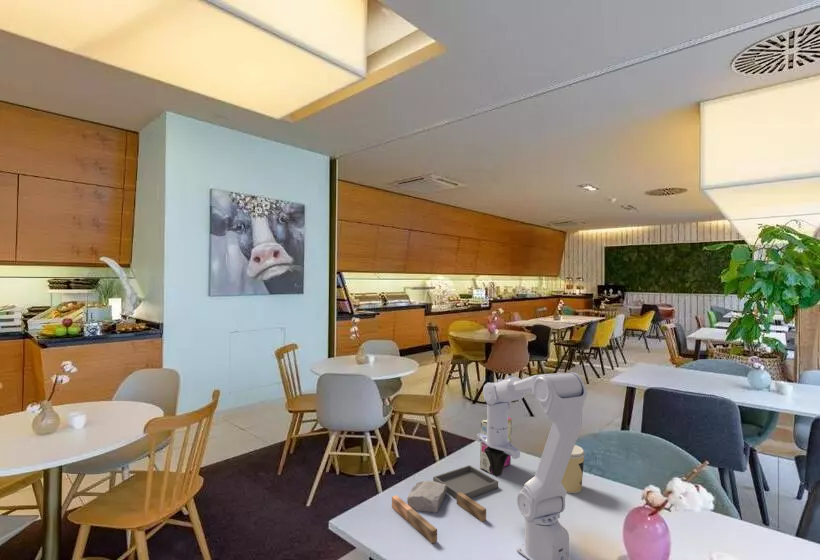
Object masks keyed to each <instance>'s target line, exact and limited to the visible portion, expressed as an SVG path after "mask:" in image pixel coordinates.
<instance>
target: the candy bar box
mask: <svg viewBox="0 0 820 560" xmlns="http://www.w3.org/2000/svg"><path fill="white" fill-rule="evenodd" d="M512 420H513V419H512V418H511V417H509V416H508V439H509V440H510V442H509V443H511V444H512V425H513V424H512ZM480 433H483V434H486V435H487V418H486V419H483V420H481V421H480ZM486 448H488V446H487V445H486V444H485V443H483V442H481V441H480V451H479V452H480V455H479V457H480V458H479V468H480V469H481V470H482V471H485V472H486V473H489V474H493V473H492V469H491V465H490V462H489V459H488V457H487V455H486V453H485V449H486ZM511 460H512V456H510V455H509V456H508V457H507V459H506V461H505V464H504V467H503V468H506V467H507V466H510V465H511V463H512V462H511Z"/></svg>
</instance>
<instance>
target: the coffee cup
mask: <svg viewBox="0 0 820 560" xmlns="http://www.w3.org/2000/svg"><path fill="white" fill-rule="evenodd" d="M584 462H585V451H584V449H583V447H581V446H579V445H577V444H575V446H574V448H573V451H572V454H571V457H570V459H569V462H568V465H567V468H566V470H565V473H564V476H563V478H562V481H561V483H562V485H563V486H564V488H565V490H566V492H567V493H568V494H577V493H580V492H581V491H582V487H583V478H584V477H583V476H584V475H583V474H584V466H585V465H584ZM567 493H566V494H567Z"/></svg>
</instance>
